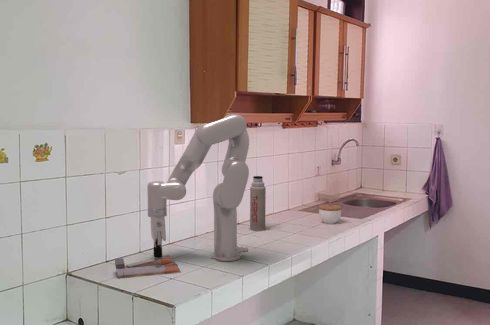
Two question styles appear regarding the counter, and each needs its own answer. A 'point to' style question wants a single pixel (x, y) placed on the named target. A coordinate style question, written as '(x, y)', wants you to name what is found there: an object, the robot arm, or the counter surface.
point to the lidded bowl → (330, 213)
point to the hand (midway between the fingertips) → (157, 256)
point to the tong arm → (151, 262)
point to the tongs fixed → (147, 270)
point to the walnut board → (153, 274)
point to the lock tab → (119, 263)
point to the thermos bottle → (257, 204)
